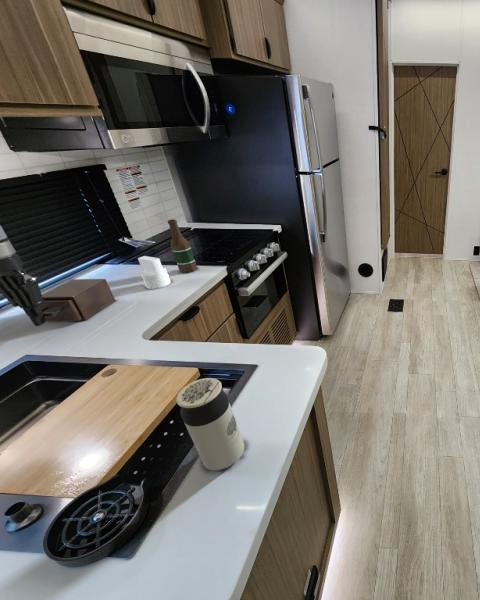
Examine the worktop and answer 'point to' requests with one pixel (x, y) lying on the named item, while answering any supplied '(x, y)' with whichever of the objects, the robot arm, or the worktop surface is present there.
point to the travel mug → (211, 423)
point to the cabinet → (84, 295)
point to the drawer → (60, 310)
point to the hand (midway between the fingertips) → (41, 323)
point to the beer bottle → (181, 249)
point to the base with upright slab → (153, 272)
